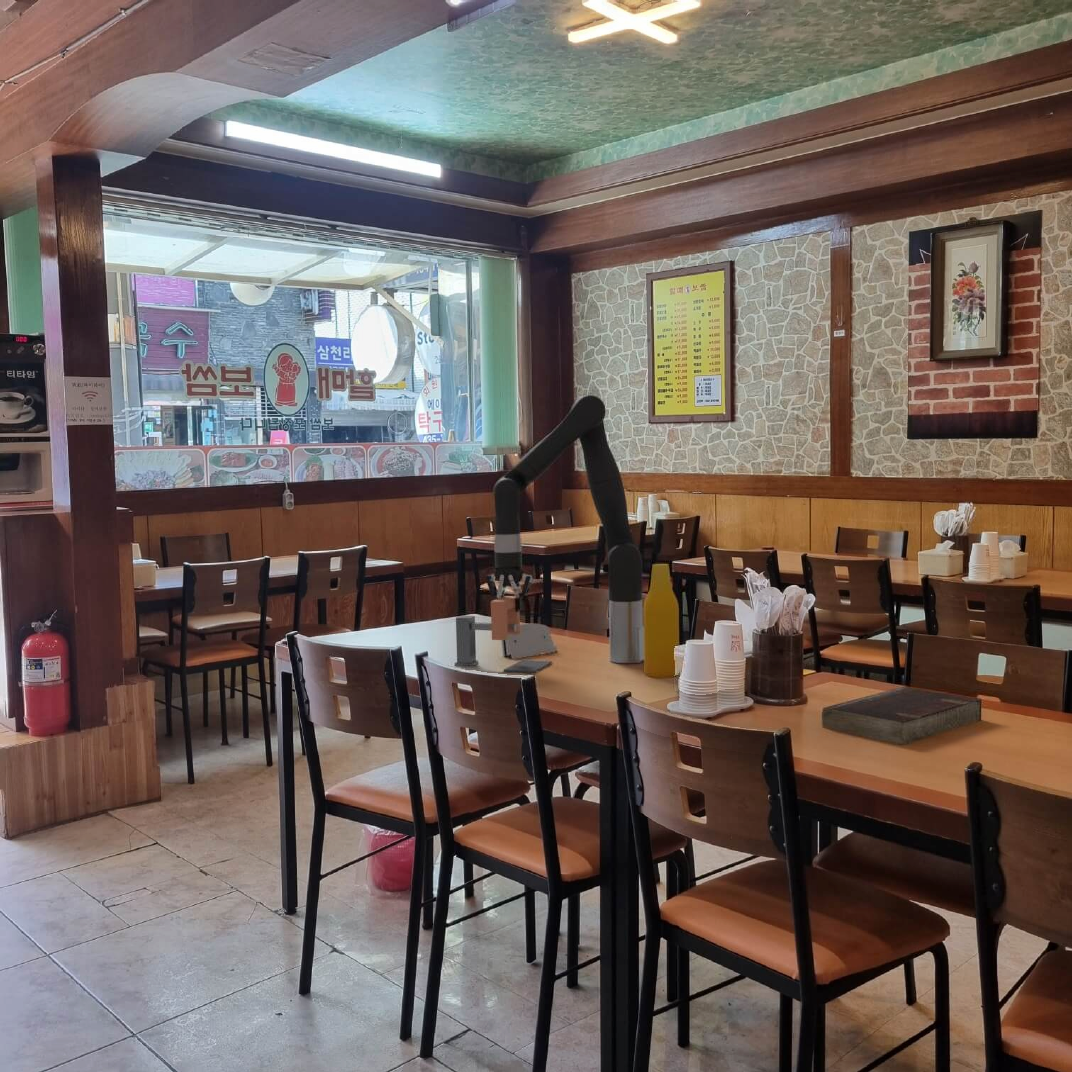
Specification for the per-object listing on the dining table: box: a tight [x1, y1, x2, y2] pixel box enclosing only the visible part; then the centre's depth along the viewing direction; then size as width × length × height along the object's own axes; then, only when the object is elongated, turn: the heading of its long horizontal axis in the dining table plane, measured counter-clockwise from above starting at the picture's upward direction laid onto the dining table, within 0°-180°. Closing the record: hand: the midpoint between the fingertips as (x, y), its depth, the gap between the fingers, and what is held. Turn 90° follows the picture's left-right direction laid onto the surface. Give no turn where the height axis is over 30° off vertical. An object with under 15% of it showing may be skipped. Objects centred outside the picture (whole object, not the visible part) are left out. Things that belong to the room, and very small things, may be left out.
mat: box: [503, 659, 553, 674], centre depth 286 cm, size 9×14×1 cm, turn 160°
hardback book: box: [821, 686, 982, 746], centre depth 218 cm, size 29×19×5 cm, turn 128°
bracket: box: [454, 615, 517, 668], centre depth 290 cm, size 18×5×14 cm, turn 70°
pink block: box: [490, 595, 521, 641], centre depth 287 cm, size 4×11×10 cm, turn 160°
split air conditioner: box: [500, 623, 558, 660], centre depth 307 cm, size 17×5×10 cm, turn 125°
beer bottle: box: [643, 563, 680, 679], centre depth 272 cm, size 9×9×29 cm
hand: (510, 611), depth 291 cm, fingers closed on pink block, 4 cm apart
